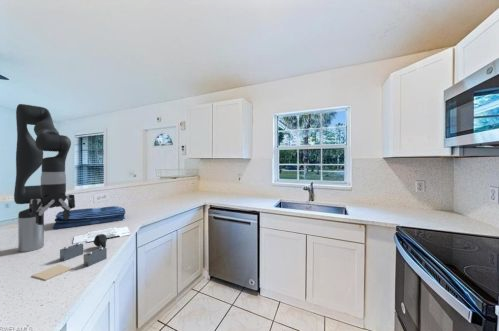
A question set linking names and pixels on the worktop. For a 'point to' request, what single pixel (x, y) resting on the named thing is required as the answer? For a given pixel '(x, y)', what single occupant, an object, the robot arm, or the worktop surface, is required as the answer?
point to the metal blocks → (88, 258)
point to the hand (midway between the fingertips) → (53, 221)
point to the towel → (89, 217)
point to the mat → (52, 272)
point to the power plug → (100, 240)
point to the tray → (108, 232)
